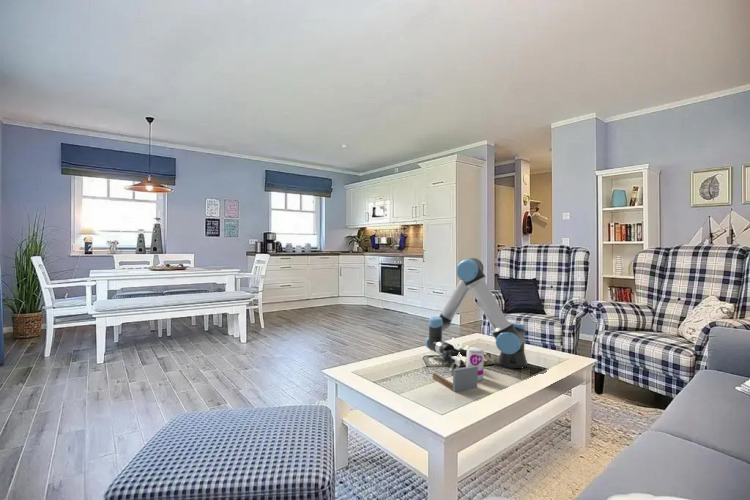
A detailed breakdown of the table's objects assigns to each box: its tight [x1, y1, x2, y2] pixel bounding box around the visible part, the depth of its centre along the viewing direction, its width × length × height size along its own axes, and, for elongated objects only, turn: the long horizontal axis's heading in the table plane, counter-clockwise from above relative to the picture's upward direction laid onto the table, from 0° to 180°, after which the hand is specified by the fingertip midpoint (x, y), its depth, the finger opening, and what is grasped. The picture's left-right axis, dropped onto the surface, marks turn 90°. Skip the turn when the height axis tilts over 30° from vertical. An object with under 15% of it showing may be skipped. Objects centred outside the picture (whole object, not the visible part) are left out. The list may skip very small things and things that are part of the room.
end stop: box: [452, 366, 478, 393], centre depth 176 cm, size 13×2×10 cm, turn 116°
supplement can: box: [465, 346, 485, 382], centre depth 190 cm, size 8×8×15 cm
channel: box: [432, 369, 454, 392], centre depth 184 cm, size 13×16×2 cm
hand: (470, 361), depth 192 cm, fingers open, 13 cm apart
